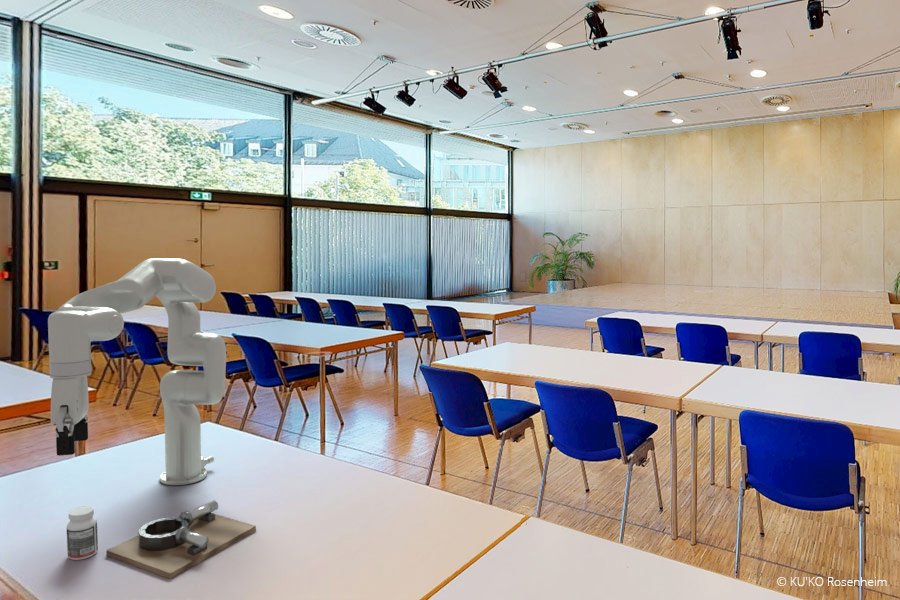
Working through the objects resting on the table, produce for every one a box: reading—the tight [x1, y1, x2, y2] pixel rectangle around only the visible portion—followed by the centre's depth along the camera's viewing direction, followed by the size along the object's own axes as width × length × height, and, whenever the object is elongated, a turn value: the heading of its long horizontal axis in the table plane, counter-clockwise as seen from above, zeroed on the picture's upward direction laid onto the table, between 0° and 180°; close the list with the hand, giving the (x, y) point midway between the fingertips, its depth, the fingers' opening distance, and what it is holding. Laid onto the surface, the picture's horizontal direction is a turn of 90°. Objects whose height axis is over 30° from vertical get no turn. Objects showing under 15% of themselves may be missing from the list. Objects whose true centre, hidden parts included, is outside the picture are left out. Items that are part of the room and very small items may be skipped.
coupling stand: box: [106, 500, 257, 580], centre depth 139 cm, size 24×20×6 cm
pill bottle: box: [66, 505, 99, 561], centre depth 133 cm, size 6×6×10 cm
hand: (73, 447), depth 131 cm, fingers open, 9 cm apart
